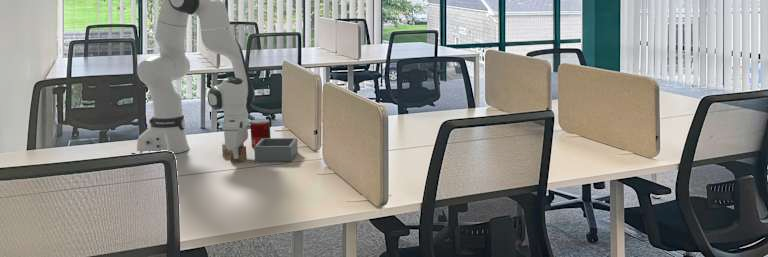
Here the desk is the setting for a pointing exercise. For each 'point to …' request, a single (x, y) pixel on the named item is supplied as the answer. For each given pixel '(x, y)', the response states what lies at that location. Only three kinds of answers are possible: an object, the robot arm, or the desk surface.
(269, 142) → the bin
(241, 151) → the walnut block
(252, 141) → the canned food
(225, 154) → the oak block
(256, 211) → the desk surface
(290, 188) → the desk surface
